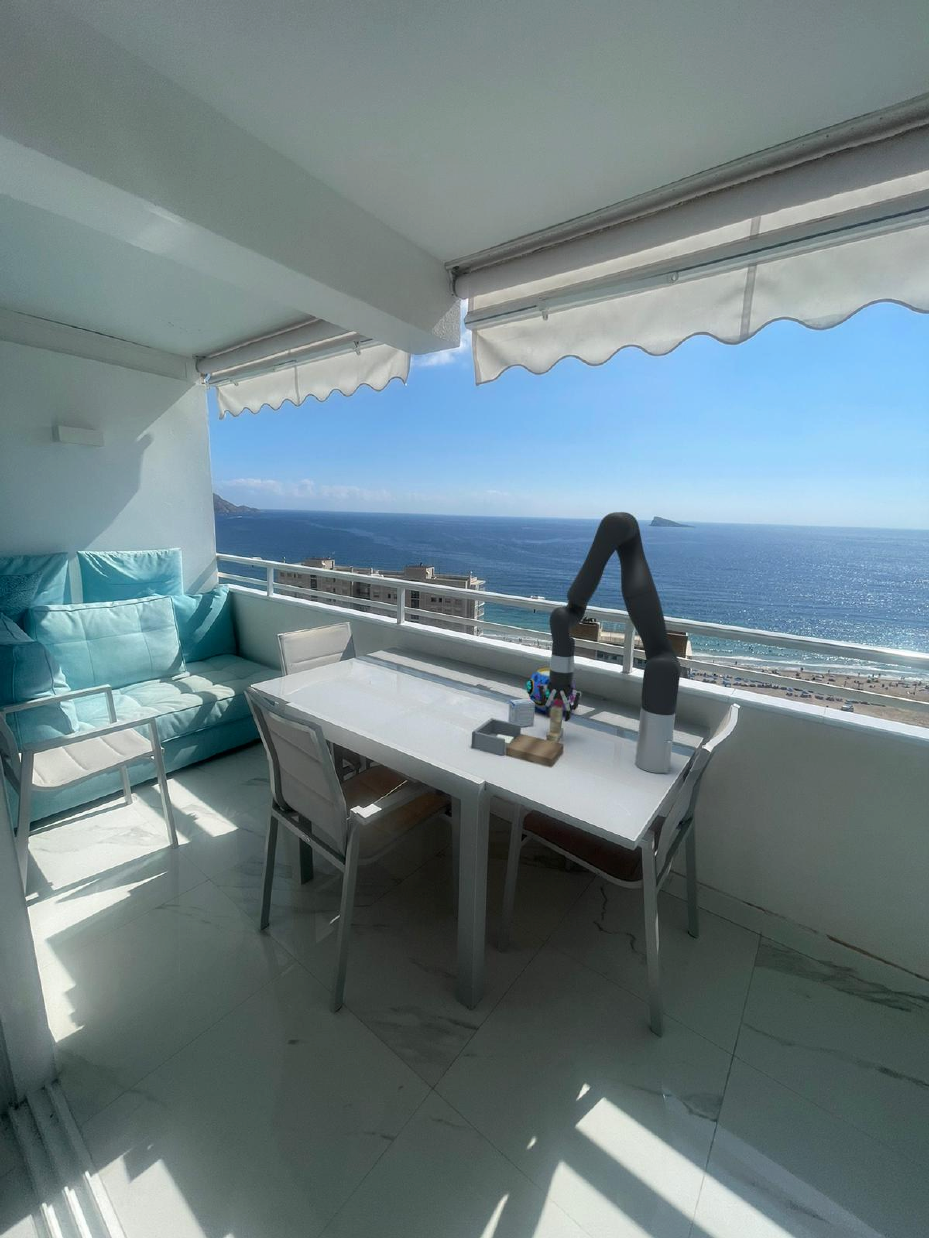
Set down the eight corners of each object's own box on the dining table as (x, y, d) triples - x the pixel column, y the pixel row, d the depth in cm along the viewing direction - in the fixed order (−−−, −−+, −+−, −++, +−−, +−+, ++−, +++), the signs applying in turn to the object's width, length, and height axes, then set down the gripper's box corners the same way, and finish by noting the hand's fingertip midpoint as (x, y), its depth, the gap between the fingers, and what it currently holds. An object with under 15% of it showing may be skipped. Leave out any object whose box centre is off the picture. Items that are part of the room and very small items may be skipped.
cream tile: (513, 743, 151) (513, 737, 151) (509, 749, 147) (509, 743, 147) (498, 740, 153) (498, 734, 153) (493, 746, 149) (493, 740, 148)
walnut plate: (563, 751, 148) (563, 743, 147) (551, 767, 137) (551, 758, 137) (520, 741, 154) (520, 733, 154) (505, 755, 143) (506, 747, 143)
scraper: (562, 736, 159) (565, 705, 157) (555, 745, 152) (558, 712, 150) (553, 734, 160) (556, 703, 158) (546, 743, 153) (548, 710, 151)
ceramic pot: (517, 709, 183) (519, 670, 180) (544, 699, 196) (547, 663, 193) (555, 722, 171) (559, 681, 168) (582, 711, 183) (585, 673, 181)
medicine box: (527, 721, 171) (529, 698, 170) (533, 726, 167) (535, 702, 166) (507, 723, 168) (509, 699, 167) (513, 728, 164) (515, 704, 163)
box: (520, 739, 155) (521, 724, 154) (502, 755, 143) (503, 740, 142) (490, 732, 160) (491, 718, 159) (471, 747, 148) (472, 732, 147)
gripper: (536, 667, 154) (532, 717, 157) (581, 674, 147) (576, 727, 150) (543, 662, 160) (540, 710, 163) (587, 669, 154) (582, 719, 157)
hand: (557, 718), depth 157 cm, fingers open, 5 cm apart
